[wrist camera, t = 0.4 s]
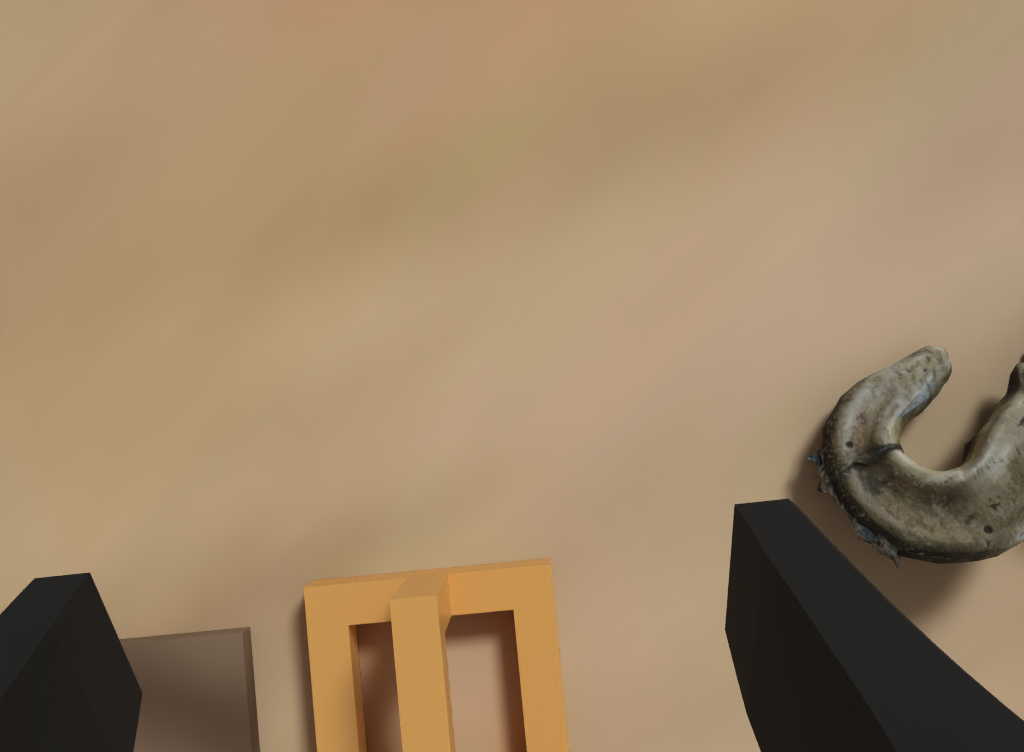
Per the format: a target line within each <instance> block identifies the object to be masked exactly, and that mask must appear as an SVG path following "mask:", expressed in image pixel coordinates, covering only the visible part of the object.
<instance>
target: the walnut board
mask: <svg viewBox="0 0 1024 752" xmlns="http://www.w3.org/2000/svg"><path fill="white" fill-rule="evenodd" d="M120 643H121V645H122V647H123V650H124V652H125V654H126V656H127V659H128V661H129V663H130V666H131V668H132V670H133V672H134V675H135V677H136V679H137V682H138V684H139V686H140V688H141V691H142V700H141V707H140V713H139V720H138V726H137V733H136V740H135V746H134V751H133V752H260V747H259V734H258V722H257V709H256V696H255V684H254V671H253V659H252V646H251V634H250V627H246V628H236V629H225V630H215V631H204V632H194V633H183V634H172V635H162V636H151V637H141V638H130V639H120Z"/></svg>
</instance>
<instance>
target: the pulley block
mask: <svg viewBox="0 0 1024 752" xmlns="http://www.w3.org/2000/svg"><path fill="white" fill-rule="evenodd" d="M951 372H952V370H951V364H950V362H949V361H948V353H947V351H946V350H945V348H943V347H931V346H925V347H923V348H922V349H920V350H918V351H916V352H914V353H913V354H911V355H909V356H907V357H906V358H904V359H902V360H900V361H899V362H897V363H895V364H893V365H892V366H890V367H888V368H886V369H884V370H881V371H879V372H877V373H874V374H872V375H870V376H868V377H866V378H865V379H863V380H861V381H859V382H857V383H856V384H855V385H854V386H853V387H852V388H851V389H849V390H848V391H847V392H846V393H845V394H844V395H843V396H841V398H840V399H839V401H838V403H837V405H836V407H835V408H834V410H833V412H832V414H831V416H830V417H829V419H828V421H827V423H826V425H825V426H824V428H823V444H822V446H821V448H820V450H819V451H818V452H816V453H815V454H813V455H811V456H809V457H808V458H806V459H808V460H811V461H812V462H814V463H815V464H816V465H817V467H818V473H819V476H820V479H821V481H820V482H819V486H818V491H819V492H823V493H828V494H830V495H831V496H832V497H833V498H834V500H835V501H836V503H837V504H838V505H839V507H840V508H841V509H842V510H843V511H844V512H845V513H846V515H847V516H848V517H849V518H850V519H851V521H852V522H853V525H854V528H855V530H856V533H857V535H858V537H859V538H860V539H862V540H864V541H866V542H868V543H870V544H872V546H873V548H874V549H875V551H876V553H877V554H880V555H884V556H887V557H889V558H891V559H892V560H893V561H894V562H895V564H896V566H897V568H898V561H899V559H900V557H901V556H902V557H907V558H912V559H917V560H922V561H928V562H933V563H938V564H944V563H963V562H972V561H979V560H983V559H988V558H992V557H996V556H998V555H1000V554H1002V553H1003V552H1005V551H1007V550H1009V549H1011V548H1012V547H1014V546H1016V545H1017V544H1019V543H1020V542H1022V541H1023V540H1024V363H1023V362H1021V363H1019V364H1017V365H1016V366H1015V368H1014V369H1013V371H1012V373H1011V375H1010V379H1009V384H1008V390H1007V393H1006V395H1005V396H1004V397H1003V398H1002V400H1001V401H1000V402H999V403H998V405H997V407H996V409H995V411H994V412H993V413H992V414H991V416H990V417H989V418H988V420H987V421H986V422H985V423H984V425H983V426H982V427H981V429H980V430H979V431H978V433H977V434H976V435H975V436H974V438H973V439H972V440H971V441H970V442H968V443H967V444H965V449H964V455H963V461H962V465H961V466H960V467H957V468H953V469H950V470H947V471H940V470H931V469H928V468H926V467H923V466H921V465H918V464H916V463H915V462H914V461H912V460H911V459H910V458H908V457H907V456H906V455H905V454H904V452H903V449H902V447H901V445H900V442H899V435H900V433H901V430H902V428H903V426H904V425H905V424H906V423H907V422H908V421H909V420H910V419H912V418H913V417H915V416H917V415H919V414H920V413H921V412H922V411H923V410H924V409H925V408H926V407H927V406H928V405H929V404H930V403H931V401H932V400H933V399H934V398H935V397H936V396H937V395H938V394H939V392H940V390H941V388H942V387H943V385H944V384H945V383H946V382H947V380H948V379H949V377H950V374H951Z"/></svg>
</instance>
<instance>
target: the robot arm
mask: <svg viewBox="0 0 1024 752" xmlns="http://www.w3.org/2000/svg"><path fill="white" fill-rule="evenodd" d="M725 631H726V635H727V639H728V643H729V647H730V651H731V655H732V659H733V663H734V667H735V671H736V675H737V679H738V683H739V686H740V690H741V694H742V698H743V701H744V705H745V709H746V712H747V715H748V718H749V721H750V724H751V726H752V729H753V732H754V734H755V737H756V739H757V742H758V745H759V747H760V750H761V752H1024V721H1023V720H1022V719H1021V718H1019V717H1018V716H1017V715H1016V714H1015V713H1013V712H1012V711H1011V710H1010V709H1008V708H1007V707H1006V706H1005V705H1004V704H1003V703H1001V702H1000V701H999V700H998V699H997V698H996V697H994V696H993V695H992V694H991V693H990V692H989V691H987V690H986V689H985V688H984V687H983V686H982V685H980V684H979V683H978V682H977V681H976V680H975V679H973V678H972V677H971V676H970V675H969V674H968V673H966V672H965V671H964V670H963V669H962V668H961V667H960V666H959V665H957V664H956V663H955V662H954V661H953V660H952V659H951V658H950V657H949V656H947V655H946V654H945V653H944V652H943V651H942V650H941V649H940V648H939V647H938V646H936V645H935V644H934V643H933V642H932V641H931V640H930V639H929V638H928V637H927V636H926V635H925V634H924V633H923V632H922V631H921V630H919V629H918V628H917V627H916V626H915V625H914V624H913V623H912V622H911V621H910V620H909V619H908V618H907V617H906V616H905V615H904V614H902V613H901V612H900V611H899V610H898V609H897V608H896V607H895V606H894V605H893V604H892V603H891V602H890V601H889V600H888V599H887V598H886V597H885V596H884V595H883V594H882V593H881V592H880V591H879V590H878V589H877V588H876V587H875V586H874V585H873V584H872V583H871V582H870V581H869V580H868V579H867V578H866V577H865V576H864V575H863V574H862V573H861V572H860V571H859V570H858V569H857V568H856V567H855V566H854V565H853V564H852V563H851V562H850V561H849V560H848V559H847V558H846V557H845V556H844V555H843V554H842V553H841V552H840V551H839V550H838V549H837V548H836V547H835V546H834V545H833V543H832V542H831V541H830V540H829V539H828V538H827V537H826V536H825V535H824V534H823V533H822V532H821V531H820V530H819V529H818V528H817V527H816V526H815V525H814V523H813V522H812V521H811V520H810V519H809V518H808V517H807V516H806V515H805V514H804V513H803V512H802V511H801V510H800V509H799V508H798V507H797V506H796V505H795V504H794V503H793V502H792V501H790V500H789V499H782V500H772V501H763V502H753V503H744V504H735V507H734V520H733V533H732V546H731V559H730V572H729V585H728V598H727V612H726V625H725ZM141 700H142V691H141V688H140V686H139V684H138V682H137V679H136V677H135V675H134V672H133V670H132V668H131V666H130V663H129V661H128V659H127V656H126V654H125V652H124V650H123V647H122V645H121V643H120V640H119V638H118V636H117V634H116V631H115V629H114V627H113V624H112V622H111V620H110V618H109V615H108V613H107V611H106V608H105V606H104V604H103V602H102V599H101V597H100V595H99V592H98V590H97V588H96V586H95V583H94V581H93V579H92V576H91V574H90V573H82V574H72V575H63V576H53V577H44V578H35V579H34V580H33V581H32V582H31V583H30V584H29V585H28V586H27V587H26V588H25V589H24V590H23V591H22V592H21V593H20V594H19V595H18V596H17V597H16V598H15V599H14V600H13V602H12V603H11V604H10V605H9V606H8V607H7V608H6V609H5V610H4V611H3V612H2V613H1V615H0V752H133V751H134V746H135V740H136V733H137V726H138V720H139V713H140V707H141Z"/></svg>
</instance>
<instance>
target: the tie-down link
mask: <svg viewBox="0 0 1024 752" xmlns="http://www.w3.org/2000/svg"><path fill="white" fill-rule="evenodd" d="M304 598H305V610H306V623H307V635H308V647H309V659H310V671H311V683H312V695H313V707H314V719H315V731H316V743H317V752H367V746H366V734H365V723H364V711H363V699H362V688H361V676H360V664H359V653H358V641H357V629H356V625H357V624H367V623H378V622H388V621H391V624H392V635H393V647H394V658H395V670H396V681H397V692H398V704H399V715H400V727H401V738H402V750H403V752H456V751H455V740H454V729H453V718H452V707H451V696H450V685H449V674H448V663H447V652H446V640H445V631H446V629H447V626H448V624H449V621H450V618H451V616H452V615H462V614H473V613H484V612H494V611H505V610H514V620H515V631H516V641H517V652H518V662H519V673H520V684H521V694H522V705H523V715H524V726H525V737H526V747H527V752H569V747H568V736H567V726H566V716H565V705H564V695H563V685H562V674H561V664H560V654H559V643H558V633H557V623H556V612H555V602H554V592H553V581H552V571H551V562H550V558H549V559H538V560H528V561H517V562H507V563H496V564H486V565H475V566H464V567H454V568H443V569H433V570H422V571H412V572H401V573H391V574H380V575H370V576H359V577H348V578H338V579H327V580H317V581H312V582H310V583H309V584H308V585H306V586H305V587H304Z"/></svg>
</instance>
